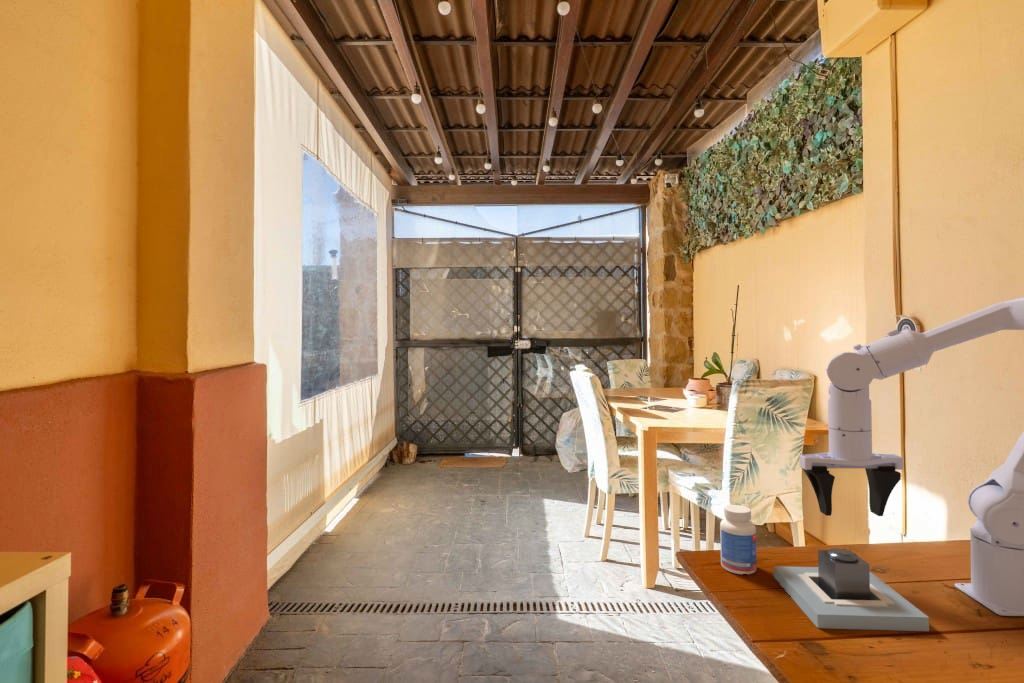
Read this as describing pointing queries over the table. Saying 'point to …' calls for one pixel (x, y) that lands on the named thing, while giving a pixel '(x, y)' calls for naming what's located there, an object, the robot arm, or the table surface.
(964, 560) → the table surface
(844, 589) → the lens block
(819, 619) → the mount plate
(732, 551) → the pill bottle
